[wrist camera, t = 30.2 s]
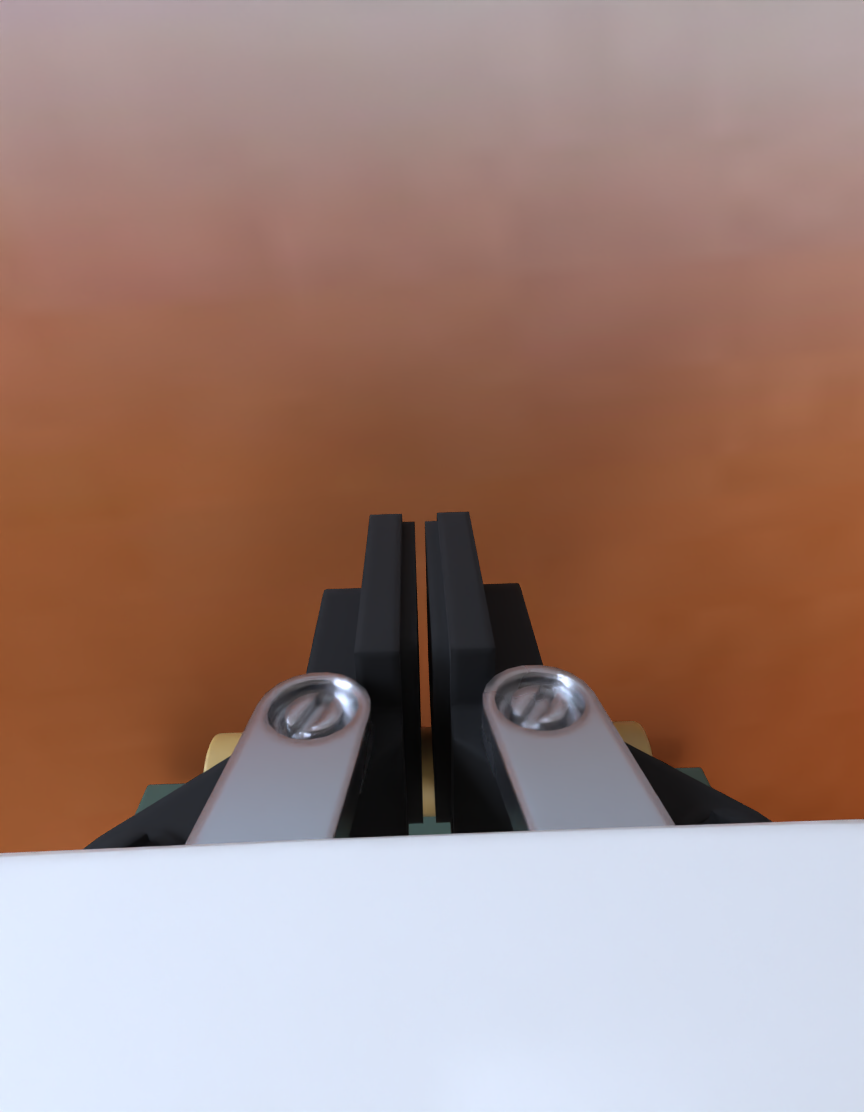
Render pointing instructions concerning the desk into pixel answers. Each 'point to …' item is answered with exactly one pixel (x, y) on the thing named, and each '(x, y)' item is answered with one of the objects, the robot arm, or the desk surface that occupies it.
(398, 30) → the desk surface
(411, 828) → the drawer
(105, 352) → the desk surface
